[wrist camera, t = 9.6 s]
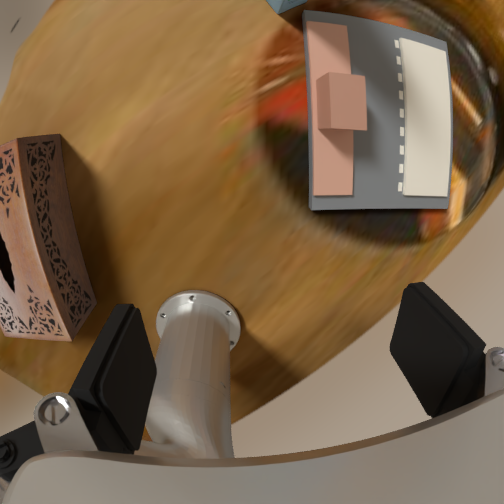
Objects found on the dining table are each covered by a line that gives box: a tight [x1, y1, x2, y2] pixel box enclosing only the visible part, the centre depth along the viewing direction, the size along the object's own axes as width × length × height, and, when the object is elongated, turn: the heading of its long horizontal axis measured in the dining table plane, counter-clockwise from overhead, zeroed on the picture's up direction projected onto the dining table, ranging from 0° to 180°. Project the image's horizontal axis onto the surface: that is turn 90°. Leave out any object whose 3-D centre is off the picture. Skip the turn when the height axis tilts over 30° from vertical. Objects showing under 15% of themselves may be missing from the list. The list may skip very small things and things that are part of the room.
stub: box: [306, 21, 367, 195], centre depth 28 cm, size 22×5×6 cm, turn 2°
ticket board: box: [302, 10, 453, 210], centre depth 32 cm, size 26×22×2 cm
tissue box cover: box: [0, 134, 97, 341], centre depth 31 cm, size 26×14×10 cm, turn 4°
